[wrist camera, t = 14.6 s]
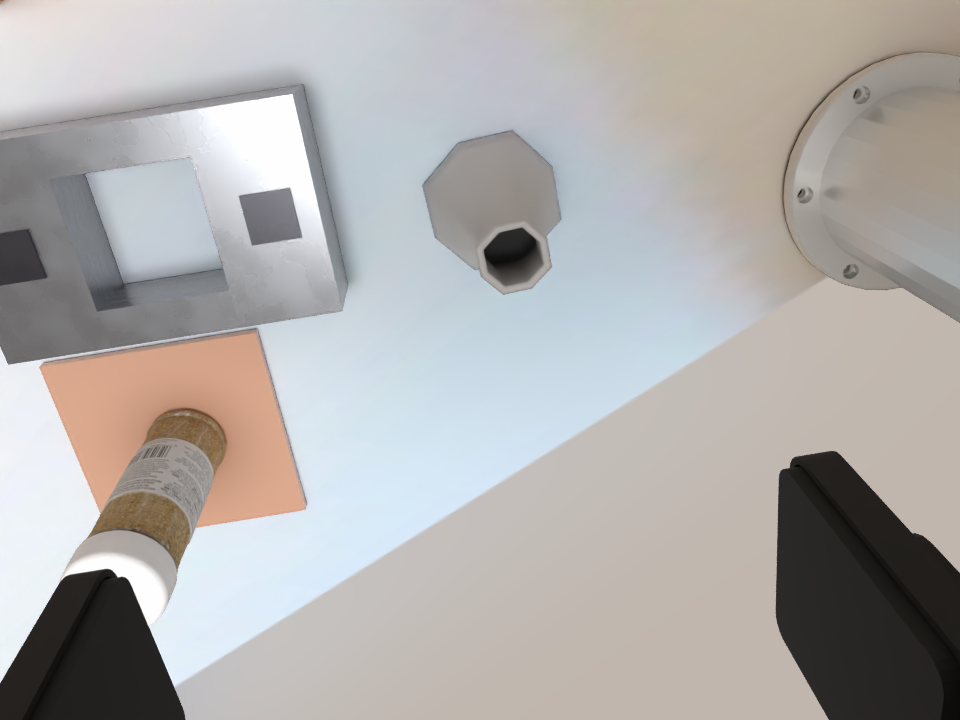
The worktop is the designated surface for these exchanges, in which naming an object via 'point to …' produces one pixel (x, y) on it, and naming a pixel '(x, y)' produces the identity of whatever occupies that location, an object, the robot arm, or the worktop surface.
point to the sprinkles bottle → (155, 508)
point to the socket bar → (230, 208)
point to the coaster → (182, 386)
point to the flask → (496, 209)
